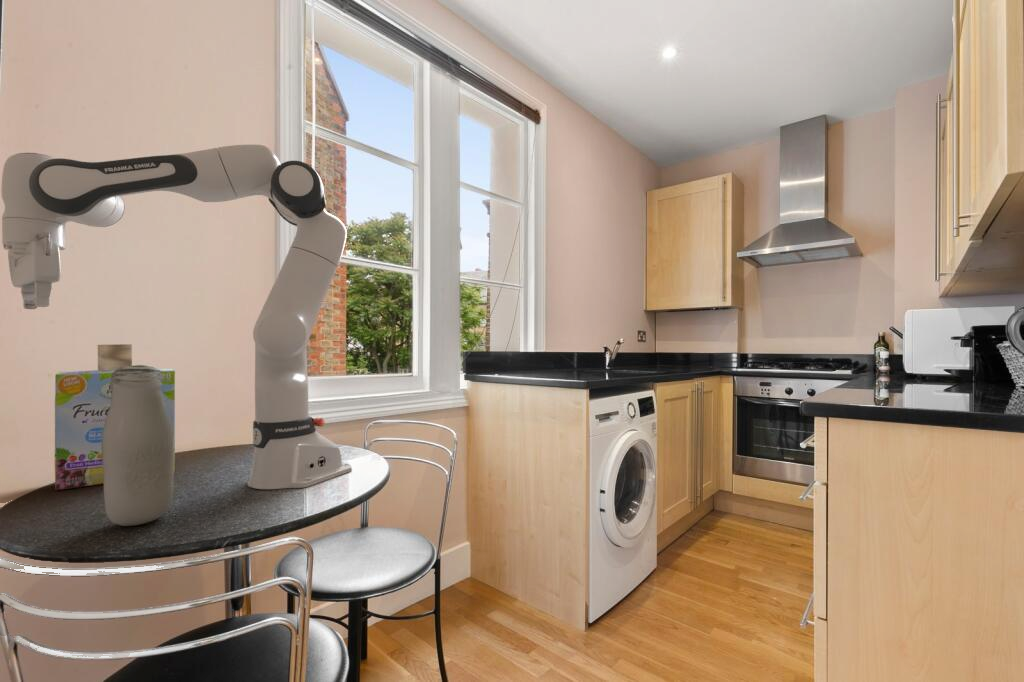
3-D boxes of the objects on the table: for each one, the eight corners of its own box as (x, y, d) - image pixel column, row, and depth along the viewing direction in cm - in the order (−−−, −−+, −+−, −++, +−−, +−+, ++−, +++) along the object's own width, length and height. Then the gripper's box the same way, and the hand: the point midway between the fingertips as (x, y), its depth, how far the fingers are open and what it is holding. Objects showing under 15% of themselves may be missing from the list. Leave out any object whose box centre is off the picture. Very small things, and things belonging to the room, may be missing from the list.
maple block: (124, 369, 115) (124, 344, 115) (131, 369, 112) (131, 344, 112) (97, 370, 111) (97, 344, 111) (105, 370, 108) (104, 344, 108)
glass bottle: (160, 508, 91) (158, 363, 91) (183, 519, 86) (181, 364, 85) (94, 525, 83) (91, 366, 83) (114, 539, 77) (112, 367, 77)
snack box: (53, 492, 102) (52, 373, 102) (58, 483, 109) (56, 371, 109) (177, 473, 116) (175, 368, 116) (174, 466, 123) (172, 367, 122)
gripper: (71, 233, 90) (72, 306, 90) (44, 246, 102) (45, 310, 102) (24, 227, 85) (25, 304, 85) (1, 241, 97) (2, 309, 97)
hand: (36, 308), depth 94 cm, fingers open, 8 cm apart
